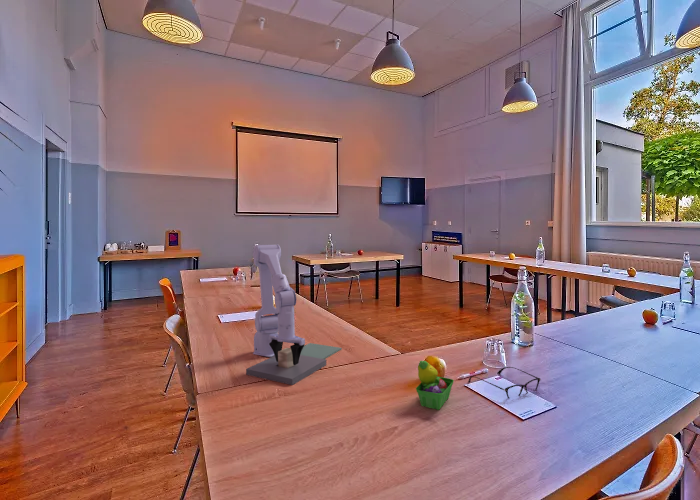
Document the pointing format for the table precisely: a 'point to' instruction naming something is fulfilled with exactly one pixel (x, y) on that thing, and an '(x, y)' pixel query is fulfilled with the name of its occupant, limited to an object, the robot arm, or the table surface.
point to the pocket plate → (286, 369)
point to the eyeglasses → (513, 385)
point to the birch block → (285, 358)
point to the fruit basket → (432, 386)
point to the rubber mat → (319, 350)
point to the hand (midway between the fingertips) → (287, 362)
